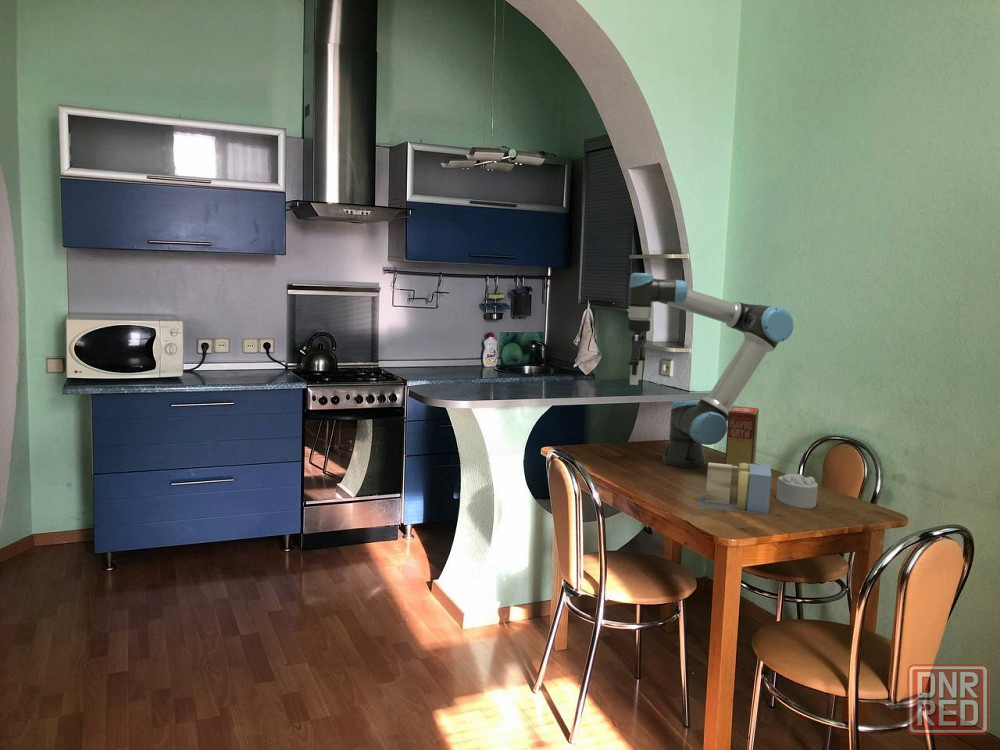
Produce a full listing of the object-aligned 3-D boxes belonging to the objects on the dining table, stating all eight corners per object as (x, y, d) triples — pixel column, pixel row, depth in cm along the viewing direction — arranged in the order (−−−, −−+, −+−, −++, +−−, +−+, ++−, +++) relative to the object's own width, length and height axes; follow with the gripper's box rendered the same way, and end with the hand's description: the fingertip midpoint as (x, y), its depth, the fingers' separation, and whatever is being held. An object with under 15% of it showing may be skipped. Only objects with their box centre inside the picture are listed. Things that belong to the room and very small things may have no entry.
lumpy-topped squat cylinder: (803, 498, 262) (806, 471, 261) (823, 510, 250) (826, 482, 248) (772, 498, 261) (774, 471, 260) (790, 510, 249) (792, 482, 247)
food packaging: (726, 477, 285) (731, 405, 282) (754, 480, 282) (760, 407, 279) (721, 486, 273) (727, 411, 270) (751, 490, 270) (758, 414, 266)
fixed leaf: (736, 497, 258) (739, 462, 257) (767, 500, 256) (770, 465, 254) (736, 509, 245) (739, 472, 243) (768, 513, 242) (771, 476, 241)
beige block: (705, 497, 256) (708, 462, 255) (744, 501, 253) (747, 466, 252) (705, 501, 251) (707, 466, 250) (744, 506, 248) (747, 470, 247)
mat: (700, 493, 263) (700, 491, 263) (766, 500, 258) (766, 498, 257) (697, 508, 246) (697, 506, 246) (768, 516, 240) (768, 514, 240)
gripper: (631, 316, 292) (628, 376, 295) (624, 320, 268) (620, 386, 271) (653, 317, 290) (649, 378, 293) (647, 322, 266) (643, 387, 269)
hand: (635, 382), depth 282 cm, fingers open, 13 cm apart
